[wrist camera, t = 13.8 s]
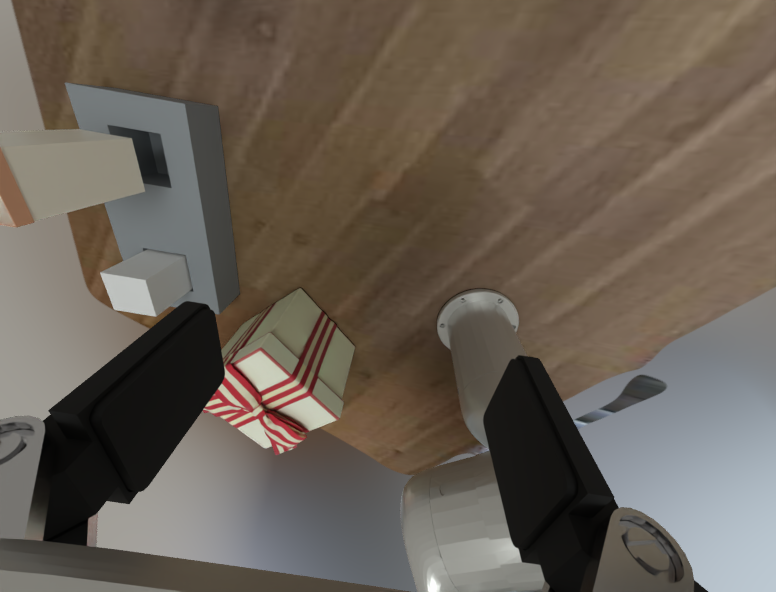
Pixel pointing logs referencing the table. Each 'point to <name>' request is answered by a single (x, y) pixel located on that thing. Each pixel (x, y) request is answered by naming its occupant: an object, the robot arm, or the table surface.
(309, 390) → the gift box
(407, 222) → the table surface
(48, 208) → the cream plug
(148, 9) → the table surface
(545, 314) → the table surface
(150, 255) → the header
